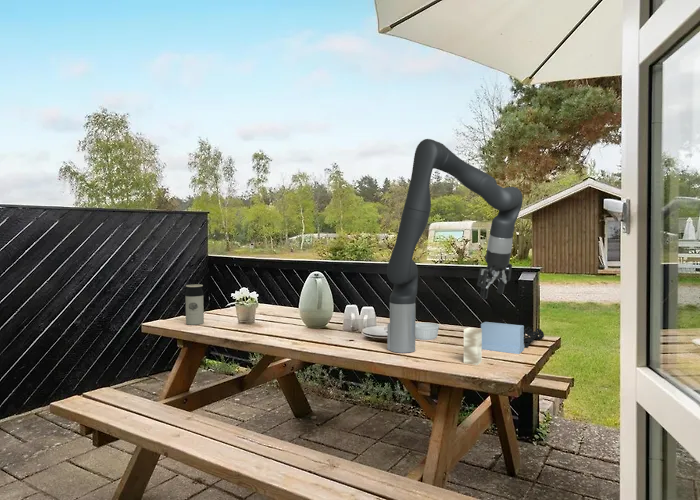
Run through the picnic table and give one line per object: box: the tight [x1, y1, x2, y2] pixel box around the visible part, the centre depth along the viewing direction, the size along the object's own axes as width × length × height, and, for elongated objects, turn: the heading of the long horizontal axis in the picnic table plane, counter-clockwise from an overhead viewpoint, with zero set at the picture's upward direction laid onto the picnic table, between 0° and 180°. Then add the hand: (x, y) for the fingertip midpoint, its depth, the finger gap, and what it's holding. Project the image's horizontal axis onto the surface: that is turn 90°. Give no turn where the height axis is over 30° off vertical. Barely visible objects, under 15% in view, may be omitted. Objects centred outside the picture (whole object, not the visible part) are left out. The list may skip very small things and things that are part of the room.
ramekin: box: [415, 321, 440, 341], centre depth 202 cm, size 11×11×5 cm
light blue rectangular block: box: [480, 321, 525, 355], centre depth 181 cm, size 14×7×9 cm, turn 57°
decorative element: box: [524, 326, 545, 349], centre depth 191 cm, size 22×5×6 cm, turn 141°
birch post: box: [463, 327, 483, 366], centre depth 163 cm, size 4×4×11 cm
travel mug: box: [184, 283, 205, 326], centre depth 233 cm, size 8×8×18 cm
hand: (491, 295), depth 165 cm, fingers open, 8 cm apart
